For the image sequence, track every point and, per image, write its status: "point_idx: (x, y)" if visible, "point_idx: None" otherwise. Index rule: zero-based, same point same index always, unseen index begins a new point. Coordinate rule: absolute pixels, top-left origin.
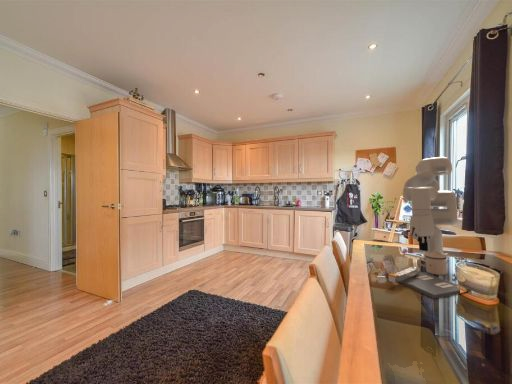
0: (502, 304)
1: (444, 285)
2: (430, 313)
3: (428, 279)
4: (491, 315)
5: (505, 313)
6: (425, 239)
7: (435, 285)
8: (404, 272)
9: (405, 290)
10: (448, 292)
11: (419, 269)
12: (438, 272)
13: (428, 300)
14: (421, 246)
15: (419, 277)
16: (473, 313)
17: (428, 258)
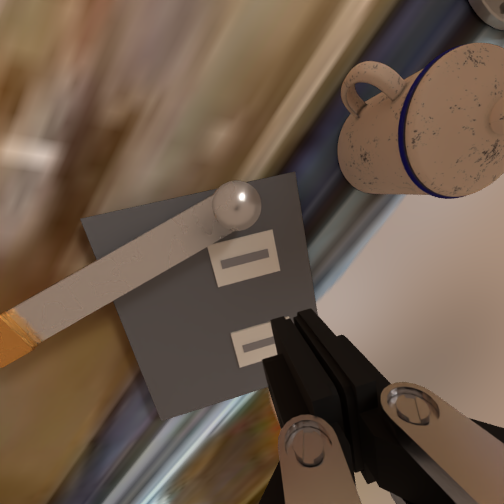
0: None
1: (263, 346)
2: (82, 497)
3: (246, 278)
4: (251, 484)
5: None
6: (436, 499)
7: (229, 341)
8: (112, 284)
9: (86, 345)
10: (232, 397)
11: (248, 226)
12: (363, 189)
13: (132, 421)
14: (275, 410)
15: (219, 254)
16: (214, 481)
17: (394, 139)
